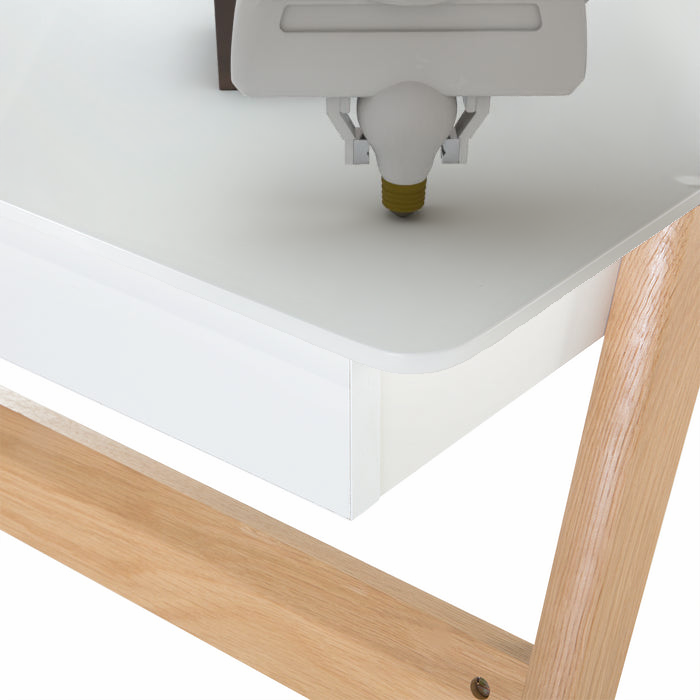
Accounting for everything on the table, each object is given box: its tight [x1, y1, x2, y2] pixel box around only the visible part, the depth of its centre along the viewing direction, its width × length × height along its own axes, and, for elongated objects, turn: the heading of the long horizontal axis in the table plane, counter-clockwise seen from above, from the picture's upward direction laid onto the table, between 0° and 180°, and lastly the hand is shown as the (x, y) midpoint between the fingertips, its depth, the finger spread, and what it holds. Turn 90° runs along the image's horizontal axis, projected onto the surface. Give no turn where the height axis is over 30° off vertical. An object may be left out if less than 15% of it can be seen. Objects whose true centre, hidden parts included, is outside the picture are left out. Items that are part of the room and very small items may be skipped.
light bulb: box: [356, 81, 458, 218], centre depth 73 cm, size 6×6×10 cm
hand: (404, 160), depth 74 cm, fingers closed on light bulb, 4 cm apart
